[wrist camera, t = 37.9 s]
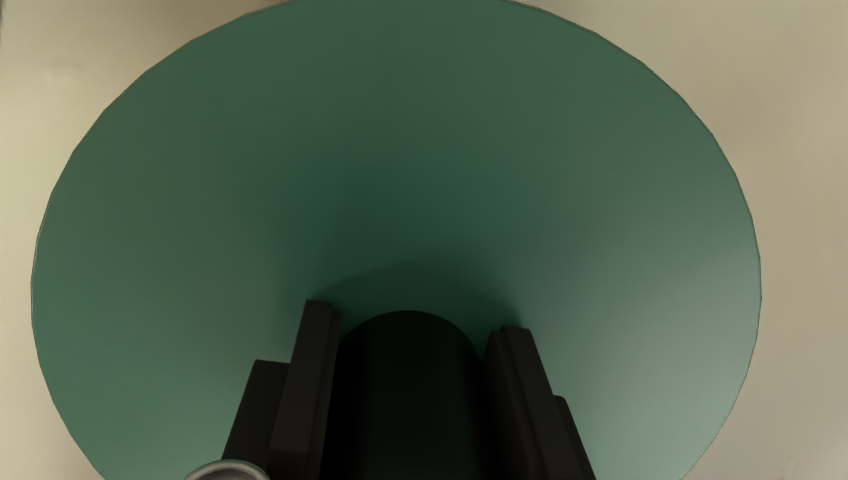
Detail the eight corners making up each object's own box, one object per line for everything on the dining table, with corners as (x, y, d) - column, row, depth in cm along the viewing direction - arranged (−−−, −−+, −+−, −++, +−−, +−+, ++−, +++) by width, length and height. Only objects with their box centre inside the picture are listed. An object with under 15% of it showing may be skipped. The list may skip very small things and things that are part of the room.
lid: (79, 534, 16) (-115, 896, 10) (25, -102, 9) (-610, -191, 3) (612, 579, 17) (726, 908, 11) (859, 66, 11) (1390, 198, 5)
